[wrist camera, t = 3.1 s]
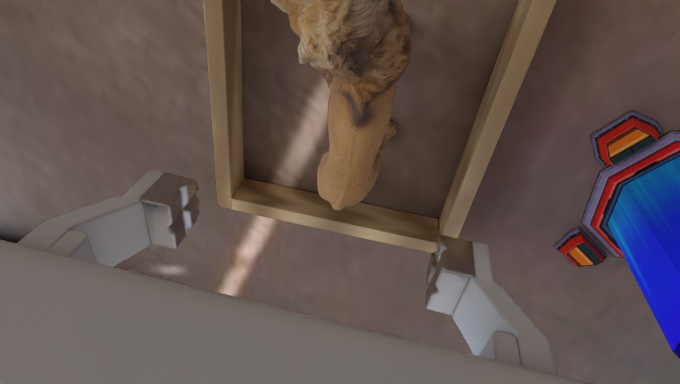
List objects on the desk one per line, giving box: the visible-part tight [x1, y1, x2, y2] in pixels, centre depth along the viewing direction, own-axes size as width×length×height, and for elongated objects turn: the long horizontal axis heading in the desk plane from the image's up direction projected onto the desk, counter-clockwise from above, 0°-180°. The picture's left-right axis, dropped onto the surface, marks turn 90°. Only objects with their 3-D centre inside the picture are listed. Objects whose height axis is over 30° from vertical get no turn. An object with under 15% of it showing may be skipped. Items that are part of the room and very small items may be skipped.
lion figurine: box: [271, 0, 411, 210], centre depth 20 cm, size 15×5×9 cm, turn 4°
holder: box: [203, 0, 557, 253], centre depth 23 cm, size 16×20×2 cm
